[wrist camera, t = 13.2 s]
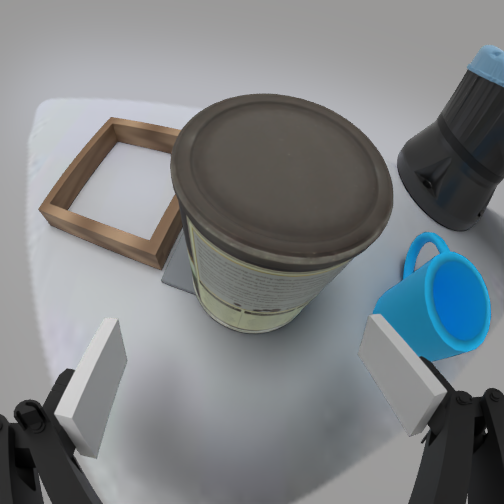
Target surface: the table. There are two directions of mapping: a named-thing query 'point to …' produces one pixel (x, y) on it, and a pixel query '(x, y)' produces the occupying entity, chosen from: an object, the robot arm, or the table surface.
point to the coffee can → (274, 204)
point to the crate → (81, 171)
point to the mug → (438, 303)
